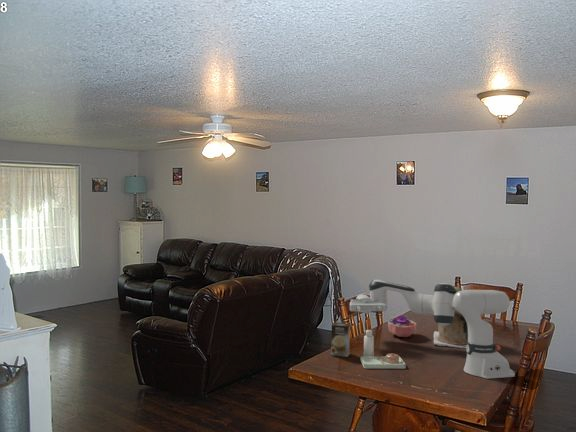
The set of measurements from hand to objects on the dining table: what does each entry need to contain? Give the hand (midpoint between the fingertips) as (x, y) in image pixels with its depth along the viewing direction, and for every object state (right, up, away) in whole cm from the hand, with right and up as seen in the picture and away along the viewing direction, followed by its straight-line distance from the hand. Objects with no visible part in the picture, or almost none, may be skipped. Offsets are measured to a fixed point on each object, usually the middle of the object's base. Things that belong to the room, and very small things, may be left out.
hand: (369, 309), depth 273 cm
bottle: (-3, -22, -12) cm, 26 cm away
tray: (+2, -23, -23) cm, 32 cm away
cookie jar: (+52, -22, +18) cm, 59 cm away
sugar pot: (+7, -23, -23) cm, 33 cm away
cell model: (+24, -21, +29) cm, 43 cm away
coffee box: (-17, -22, -8) cm, 29 cm away
